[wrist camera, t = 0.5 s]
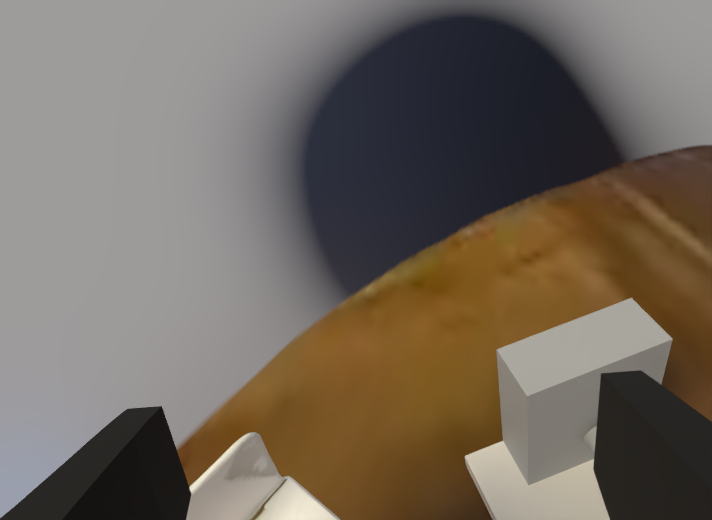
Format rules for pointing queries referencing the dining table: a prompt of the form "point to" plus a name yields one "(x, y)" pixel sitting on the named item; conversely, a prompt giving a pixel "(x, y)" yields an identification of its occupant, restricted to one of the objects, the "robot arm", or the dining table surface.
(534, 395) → the pipe stand
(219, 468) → the ink cartridge box
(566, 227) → the dining table surface
